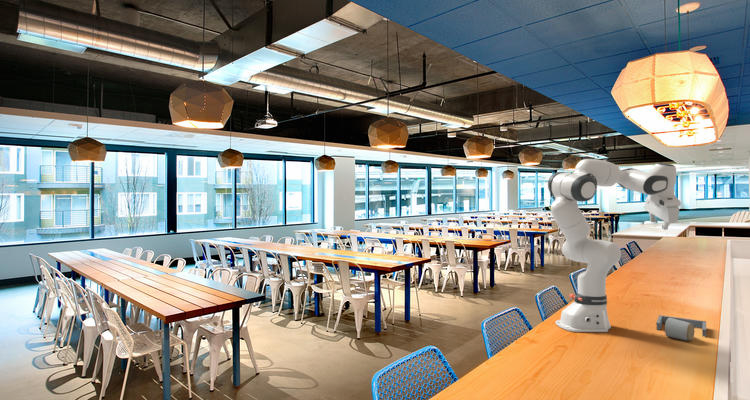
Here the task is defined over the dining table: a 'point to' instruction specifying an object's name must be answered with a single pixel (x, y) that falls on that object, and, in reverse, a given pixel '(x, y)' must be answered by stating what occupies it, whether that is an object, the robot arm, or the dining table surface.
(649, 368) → the dining table surface
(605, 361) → the dining table surface
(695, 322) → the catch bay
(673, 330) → the grey cylinder
